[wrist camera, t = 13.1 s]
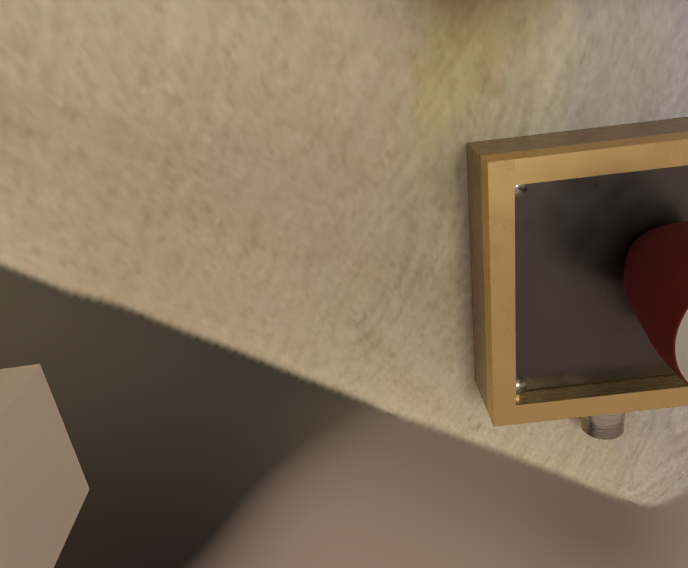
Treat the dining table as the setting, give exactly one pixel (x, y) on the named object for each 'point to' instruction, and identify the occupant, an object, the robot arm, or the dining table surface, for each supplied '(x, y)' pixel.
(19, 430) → the robot arm
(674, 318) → the mug
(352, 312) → the dining table surface
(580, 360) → the shallow drawer tray
